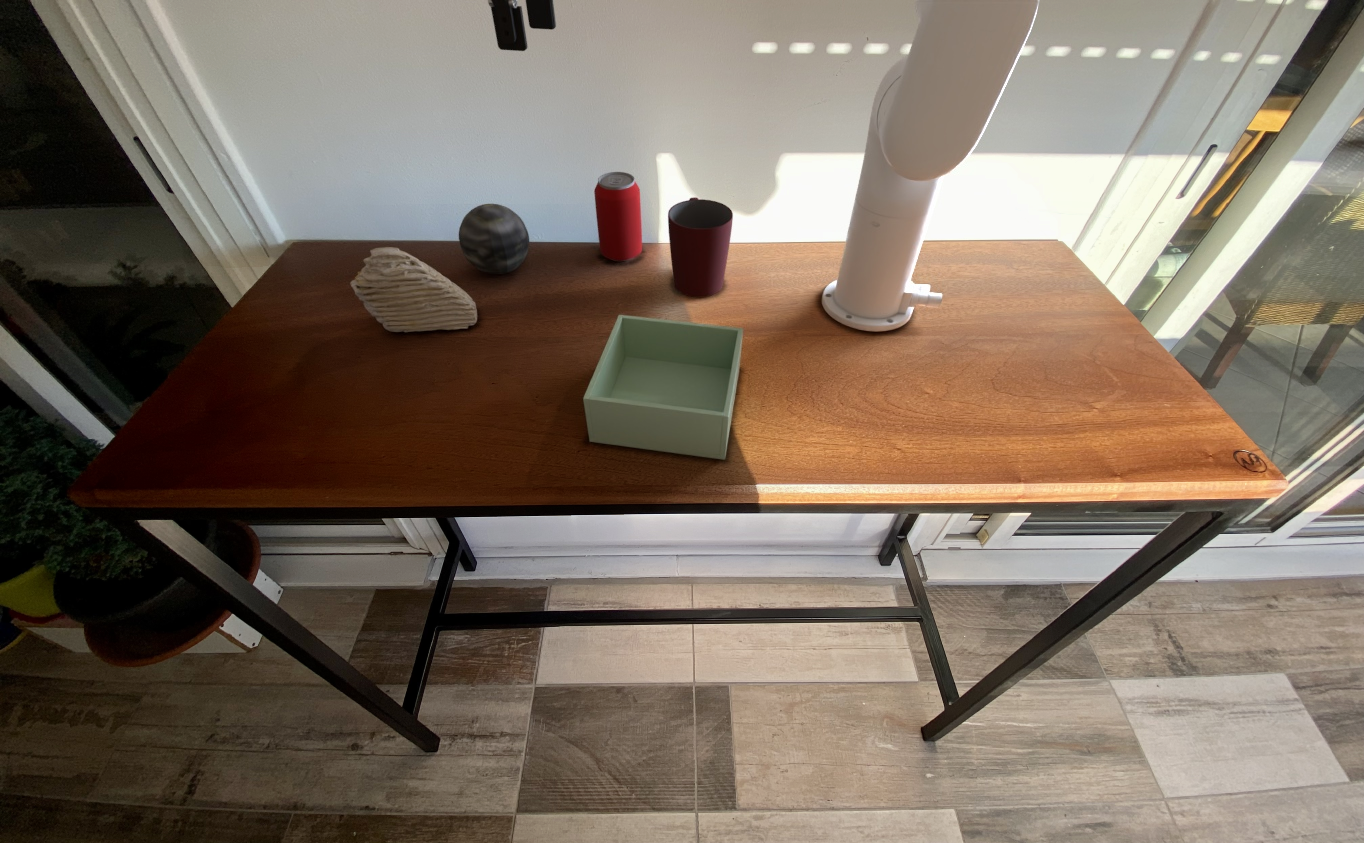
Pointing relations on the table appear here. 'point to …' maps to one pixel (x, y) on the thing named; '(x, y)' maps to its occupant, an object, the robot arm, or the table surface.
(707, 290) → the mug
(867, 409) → the table surface
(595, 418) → the sage green storage bin
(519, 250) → the decorative stone
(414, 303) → the fossil tooth
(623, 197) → the beverage can
